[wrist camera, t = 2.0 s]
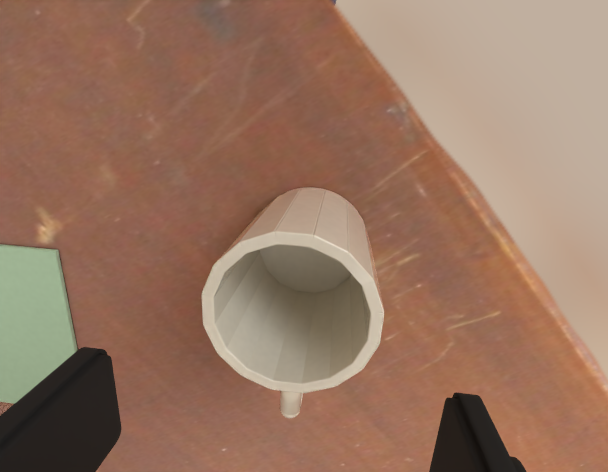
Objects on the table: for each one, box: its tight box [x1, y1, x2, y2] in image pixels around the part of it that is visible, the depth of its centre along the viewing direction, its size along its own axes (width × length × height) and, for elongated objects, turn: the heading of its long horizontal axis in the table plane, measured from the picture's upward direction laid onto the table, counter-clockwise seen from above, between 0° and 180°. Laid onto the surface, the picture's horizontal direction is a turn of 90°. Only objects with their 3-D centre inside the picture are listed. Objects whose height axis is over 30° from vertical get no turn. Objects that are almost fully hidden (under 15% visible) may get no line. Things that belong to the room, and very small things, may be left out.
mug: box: [202, 187, 384, 419], centre depth 18 cm, size 10×7×8 cm
